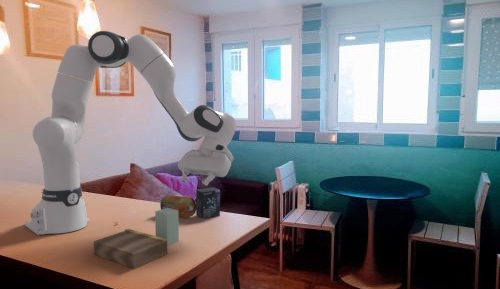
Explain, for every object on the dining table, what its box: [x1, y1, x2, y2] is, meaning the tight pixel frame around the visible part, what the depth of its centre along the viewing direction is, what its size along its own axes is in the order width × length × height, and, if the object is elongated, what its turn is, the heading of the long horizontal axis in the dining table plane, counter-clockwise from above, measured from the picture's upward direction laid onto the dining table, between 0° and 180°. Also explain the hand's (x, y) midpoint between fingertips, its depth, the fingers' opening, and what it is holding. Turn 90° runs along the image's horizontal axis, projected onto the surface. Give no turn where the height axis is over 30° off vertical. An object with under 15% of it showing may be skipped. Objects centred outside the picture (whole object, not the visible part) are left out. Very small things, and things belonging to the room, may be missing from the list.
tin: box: [160, 194, 196, 219], centre depth 143 cm, size 15×3×8 cm, turn 69°
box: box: [195, 187, 221, 220], centre depth 144 cm, size 8×6×11 cm
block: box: [154, 208, 180, 247], centre depth 116 cm, size 5×5×10 cm
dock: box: [93, 228, 168, 269], centre depth 106 cm, size 17×12×4 cm
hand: (193, 182), depth 125 cm, fingers open, 8 cm apart
